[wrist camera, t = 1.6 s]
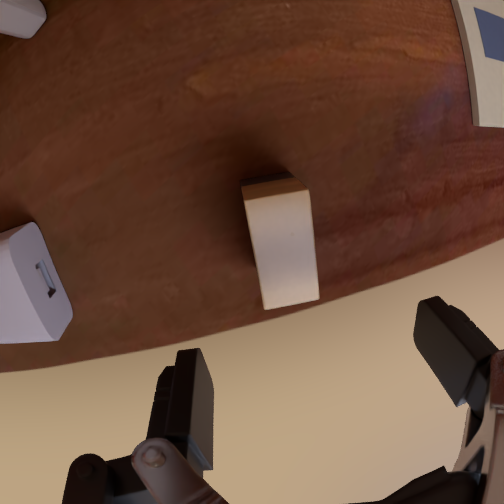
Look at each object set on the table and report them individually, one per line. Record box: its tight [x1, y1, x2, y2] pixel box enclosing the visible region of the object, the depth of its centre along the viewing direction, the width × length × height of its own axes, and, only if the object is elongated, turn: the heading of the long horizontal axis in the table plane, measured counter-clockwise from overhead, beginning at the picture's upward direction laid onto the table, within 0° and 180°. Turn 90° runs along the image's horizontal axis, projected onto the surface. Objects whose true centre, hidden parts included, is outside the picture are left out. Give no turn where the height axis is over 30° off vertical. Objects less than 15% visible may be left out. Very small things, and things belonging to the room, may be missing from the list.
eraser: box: [240, 172, 319, 310], centre depth 20 cm, size 7×4×6 cm, turn 10°
